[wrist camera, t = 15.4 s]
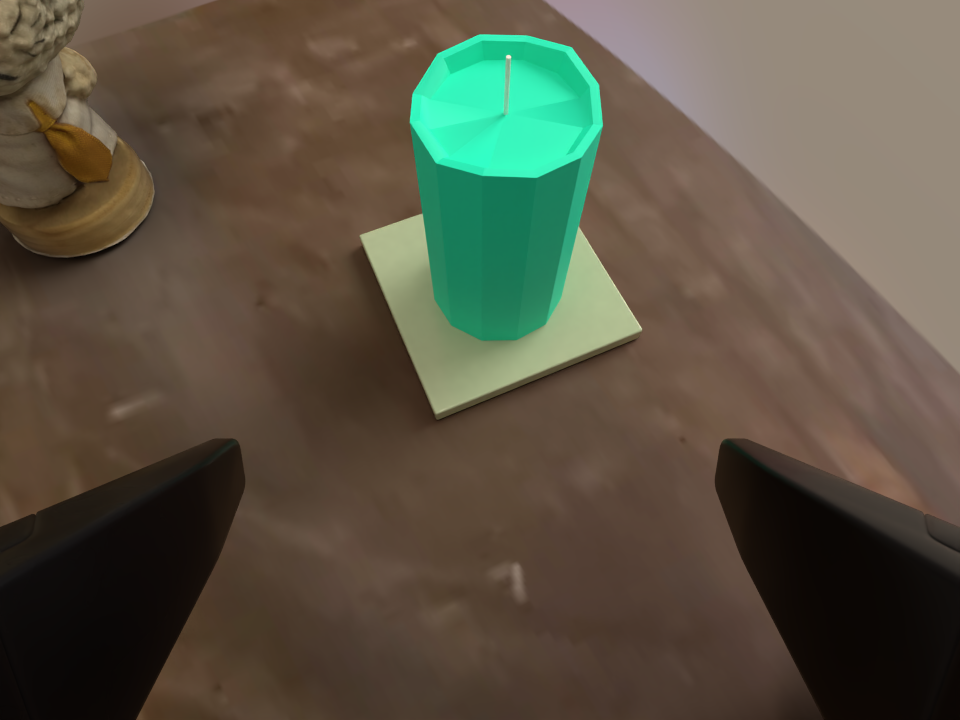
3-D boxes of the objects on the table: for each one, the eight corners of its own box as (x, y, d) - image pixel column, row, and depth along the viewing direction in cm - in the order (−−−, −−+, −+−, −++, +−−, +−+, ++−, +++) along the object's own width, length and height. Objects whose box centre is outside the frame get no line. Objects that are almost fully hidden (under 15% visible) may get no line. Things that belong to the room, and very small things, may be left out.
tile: (638, 338, 27) (643, 329, 27) (436, 421, 26) (435, 414, 25) (543, 181, 31) (544, 170, 30) (361, 244, 30) (358, 234, 29)
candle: (495, 210, 29) (503, -39, 18) (589, 283, 28) (659, 55, 17) (405, 285, 28) (356, 58, 17) (499, 368, 26) (514, 175, 15)
